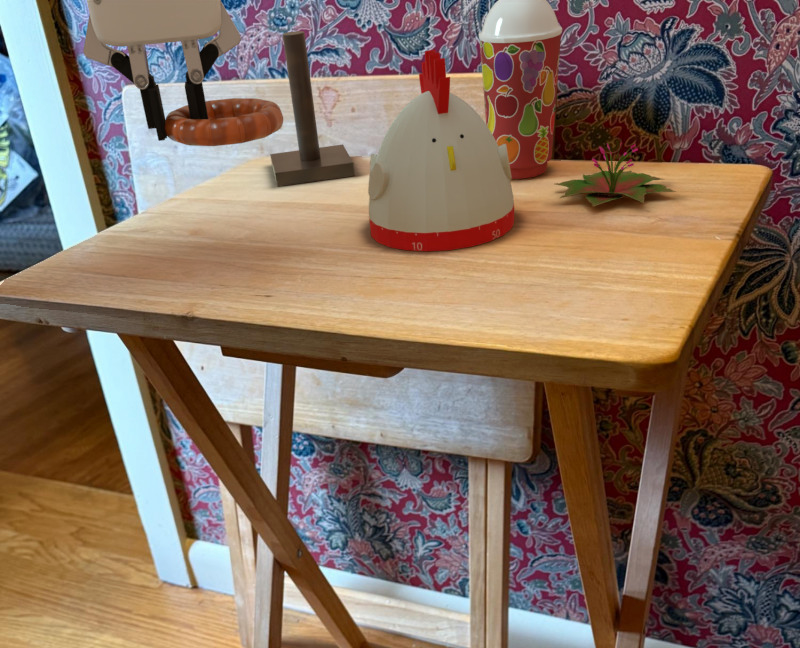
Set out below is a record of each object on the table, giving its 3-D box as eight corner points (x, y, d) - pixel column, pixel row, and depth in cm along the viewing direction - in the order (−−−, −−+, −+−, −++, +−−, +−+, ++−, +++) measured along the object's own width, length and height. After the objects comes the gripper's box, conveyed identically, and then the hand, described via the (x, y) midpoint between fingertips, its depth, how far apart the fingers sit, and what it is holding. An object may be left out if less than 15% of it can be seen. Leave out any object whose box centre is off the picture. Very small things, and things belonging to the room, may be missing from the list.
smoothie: (538, 157, 102) (540, -50, 90) (572, 174, 96) (579, -46, 84) (470, 169, 100) (463, -40, 88) (500, 188, 94) (497, -35, 82)
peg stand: (277, 186, 102) (254, 43, 93) (272, 166, 109) (250, 32, 100) (354, 176, 102) (339, 33, 94) (344, 157, 110) (329, 23, 101)
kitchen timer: (384, 260, 80) (367, 75, 71) (359, 215, 90) (341, 50, 82) (533, 236, 81) (534, 53, 72) (490, 195, 92) (487, 31, 83)
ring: (166, 153, 72) (160, 127, 71) (169, 127, 80) (164, 102, 79) (288, 140, 73) (285, 114, 72) (279, 116, 81) (276, 92, 80)
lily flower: (532, 189, 93) (532, 142, 90) (636, 170, 95) (639, 124, 92) (585, 221, 83) (587, 170, 81) (698, 199, 86) (704, 149, 83)
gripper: (236, -140, 69) (271, 116, 80) (24, -124, 67) (89, 135, 78) (240, -142, 63) (277, 135, 74) (7, -125, 61) (80, 156, 72)
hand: (180, 133), depth 76 cm, fingers closed on ring, 2 cm apart
